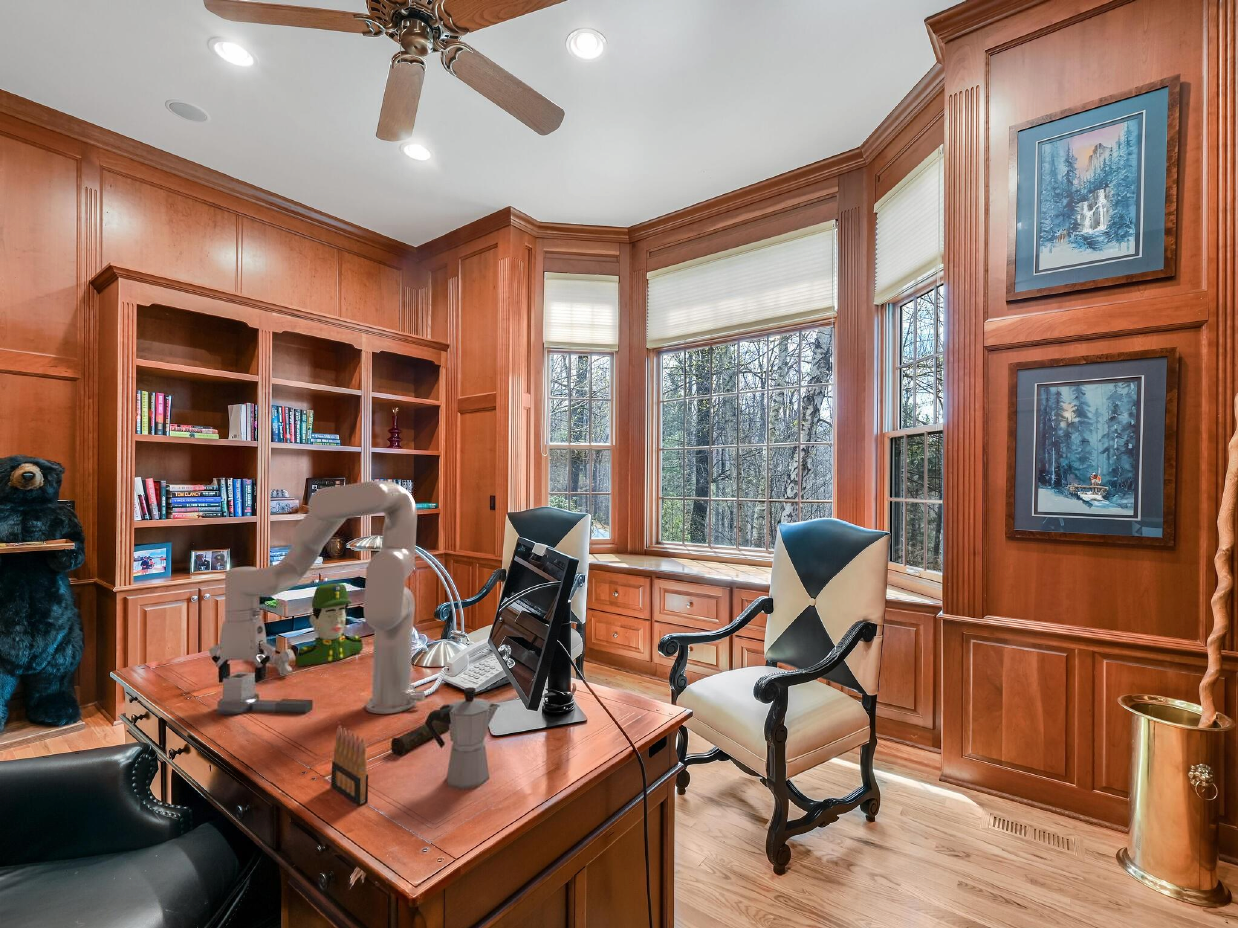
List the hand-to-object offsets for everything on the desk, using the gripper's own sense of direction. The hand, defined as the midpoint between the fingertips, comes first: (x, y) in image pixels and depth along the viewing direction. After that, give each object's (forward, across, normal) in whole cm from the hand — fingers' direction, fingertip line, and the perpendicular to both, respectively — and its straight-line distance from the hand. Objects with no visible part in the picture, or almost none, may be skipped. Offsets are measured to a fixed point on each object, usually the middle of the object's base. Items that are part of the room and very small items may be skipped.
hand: (242, 680), depth 148 cm
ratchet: (+7, -6, 0) cm, 10 cm away
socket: (+5, +1, 0) cm, 5 cm away
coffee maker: (+9, -68, +29) cm, 75 cm away
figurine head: (+8, 0, -41) cm, 42 cm away
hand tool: (+9, -54, +12) cm, 56 cm away
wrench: (+7, +13, -30) cm, 34 cm away
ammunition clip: (+9, -48, +36) cm, 61 cm away
